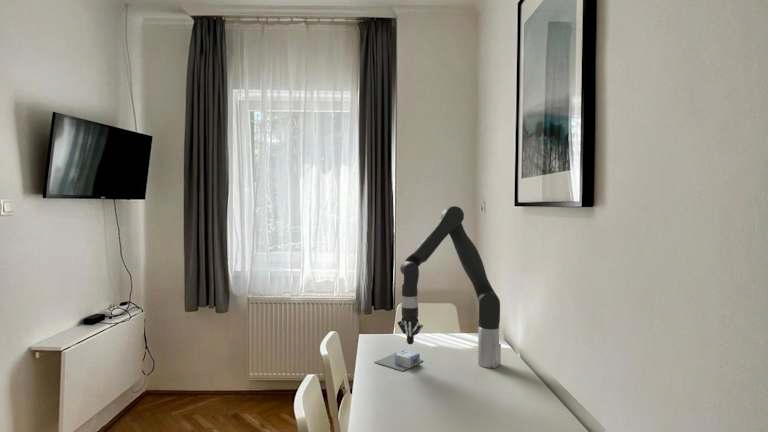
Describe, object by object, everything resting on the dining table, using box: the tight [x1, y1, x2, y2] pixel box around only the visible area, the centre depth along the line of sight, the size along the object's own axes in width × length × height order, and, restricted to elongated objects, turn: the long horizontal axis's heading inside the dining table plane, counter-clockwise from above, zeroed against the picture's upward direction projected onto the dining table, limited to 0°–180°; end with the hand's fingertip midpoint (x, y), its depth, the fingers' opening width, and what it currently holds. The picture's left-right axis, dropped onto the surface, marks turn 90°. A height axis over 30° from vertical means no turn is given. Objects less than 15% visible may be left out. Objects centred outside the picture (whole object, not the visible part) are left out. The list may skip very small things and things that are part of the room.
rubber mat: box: [374, 352, 424, 373], centre depth 189 cm, size 16×16×1 cm
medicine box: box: [395, 349, 421, 369], centre depth 186 cm, size 8×4×9 cm
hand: (410, 343), depth 185 cm, fingers closed
